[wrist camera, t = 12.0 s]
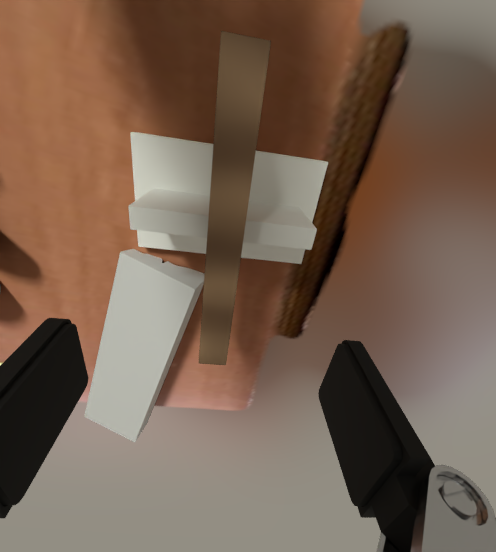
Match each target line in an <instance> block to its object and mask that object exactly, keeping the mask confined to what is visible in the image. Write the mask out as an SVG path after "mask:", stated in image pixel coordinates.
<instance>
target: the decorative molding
mask: <svg viewBox="0 0 496 552" xmlns="http://www.w3.org/2000/svg"><path fill="white" fill-rule="evenodd" d="M204 276H205V274H204V273H202V272H199V271H196V270H193V269H190V268H185V267H180V266H177V265H174V264H172V263H170V262H169V261H167V262H165V263H162V259H161V258H158V257H155V256H152V255H149V254H143V253H141V252H139V251H137V250H135V249H130V250H126V251H122V252H120V256H119V261H118V265H117V270H116V274H115V279H114V283H113V288H112V293H111V297H110V302H109V306H108V311H107V315H106V320H105V325H104V329H103V334H102V338H101V343H100V347H99V352H98V357H97V361H96V366H95V370H94V375H93V379H92V384H91V388H90V393H89V398H88V402H87V407H86V411H85V417H86V418H88V419H90V420H92V421H94V422H96V423H98V424H100V425H102V426H104V427H106V428H107V429H109V430H111V431H113V432H115V433H117V434H119V435H121V436H123V437H125V438H127V439H129V440H131V441H133V442H136V440H137V438H138V437H139V435H140V433H141V432H142V430H143V429H144V427H145V425H146V424H147V422H148V419H149V417H150V415H151V412H152V410H153V407H154V405H155V402H156V400H157V398H158V395H159V393H160V390H161V388H162V385H163V383H164V380H165V378H166V376H167V373H168V371H169V368H170V366H171V363H172V361H173V358H174V356H175V353H176V351H177V349H178V346H179V344H180V341H181V339H182V336H183V334H184V331H185V329H186V327H187V324H188V322H189V319H190V317H191V314H192V312H193V309H194V307H195V305H196V302H197V300H198V297H199V295H200V292H201V290H202V287H203V285H204Z"/></svg>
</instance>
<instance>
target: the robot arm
mask: <svg viewBox="0 0 496 552" xmlns="http://www.w3.org/2000/svg"><path fill="white" fill-rule="evenodd" d="M87 383H88V374H87V370H86V366H85V362H84V357H83V353H82V349H81V345H80V340H79V336H78V332H77V327H76V325H75V324H72V323H71V321H70V320H69V319H58V318H48V319H47V320H45V321H44V322H43V323H42V324H41V325H40V326H39V327H38V328H37V329H36V330H35V331H34V332H33V333H32V334H31V335H30V336H29V337H28V338H27V339H26V340H25V341H24V342H23V343H22V344H21V345H20V347H19V348H18V349H17V350H16V351H15V352H14V353H13V354H12V355H11V356H10V357H9V358H8V359H7V360H6V361H5V362H4V363H3V364H2V365H1V366H0V518H5V517H6V515H7V514H8V512H9V510H10V509H11V507H12V505H16V504H17V503H19V502H20V500H21V499H22V498H23V496H24V495H25V493H26V491H27V489H28V488H29V486H30V484H31V482H32V481H33V479H34V477H35V476H36V474H37V472H38V470H39V468H40V467H41V465H42V463H43V462H44V460H45V458H46V456H47V454H48V453H49V451H50V449H51V448H52V446H53V444H54V442H55V440H56V439H57V437H58V435H59V433H60V432H61V430H62V428H63V426H64V425H65V423H66V421H67V420H68V418H69V416H70V414H71V413H72V411H73V409H74V407H75V405H76V404H77V402H78V401H79V399H80V397H81V395H82V394H83V392H84V390H85V388H86V386H87ZM319 400H320V403H321V406H322V409H323V413H324V415H325V419H326V422H327V425H328V428H329V432H330V435H331V438H332V441H333V444H334V447H335V451H336V454H337V457H338V460H339V463H340V467H341V470H342V473H343V476H344V479H345V482H346V486H347V489H348V492H349V495H350V498H351V501H352V503H353V504H354V505H355V506H358V509H359V513H360V516H361V517H376V519H377V522H378V525H379V527H380V530H381V534H380V539H379V543H378V548H377V552H496V518H495V515H494V511H493V508H492V506H491V505H490V503H489V501H488V499H487V497H486V496H485V495H484V493H483V492H482V491H481V489H480V488H479V487H478V486H477V485H476V484H475V483H474V482H473V481H472V480H471V479H469V478H468V477H467V476H465V475H464V474H463V473H462V472H460V471H458V470H456V469H454V468H452V467H449V466H445V465H437V466H435V465H434V463H433V462H432V460H431V458H430V456H429V455H428V453H427V451H426V450H425V448H424V446H423V445H422V443H421V441H420V440H419V438H418V436H417V435H416V433H415V431H414V430H413V428H412V426H411V425H410V423H409V421H408V419H407V418H406V416H405V414H404V413H403V411H402V409H401V408H400V406H399V404H398V403H397V401H396V399H395V398H394V396H393V394H392V393H391V391H390V389H389V388H388V386H387V384H386V383H385V381H384V379H383V378H382V376H381V374H380V372H379V371H378V369H377V367H376V366H375V364H374V362H373V361H372V359H371V358H370V356H369V354H368V352H367V351H366V349H365V347H364V346H363V344H362V343H361V342H360V341H349V340H344V341H343V342H342V344H338V346H337V348H336V350H335V353H334V355H333V357H332V360H331V362H330V365H329V368H328V370H327V372H326V375H325V377H324V379H323V382H322V384H321V386H320V389H319Z"/></svg>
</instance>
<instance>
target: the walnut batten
mask: <svg viewBox="0 0 496 552" xmlns="http://www.w3.org/2000/svg"><path fill="white" fill-rule="evenodd" d="M270 45H271V41H270V40H265V39H260V38H255V37H250V36H245V35H240V34H235V33H230V32H225V31H221V40H220V55H219V69H218V84H217V99H216V114H215V128H214V143H213V158H212V173H211V187H210V202H209V217H208V232H207V246H206V261H205V276H204V291H203V306H202V320H201V335H200V350H199V363H200V364H216V365H226V361H227V353H228V346H229V339H230V332H231V325H232V318H233V310H234V303H235V296H236V289H237V282H238V275H239V267H240V260H241V253H242V246H243V239H244V232H245V224H246V217H247V210H248V203H249V196H250V189H251V181H252V174H253V167H254V160H255V153H256V146H257V138H258V131H259V124H260V117H261V110H262V103H263V95H264V88H265V81H266V74H267V67H268V60H269V52H270Z"/></svg>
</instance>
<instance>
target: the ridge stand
mask: <svg viewBox="0 0 496 552" xmlns="http://www.w3.org/2000/svg"><path fill="white" fill-rule="evenodd" d="M130 133H131V147H132V162H133V176H134V191H135V202H133V203H132V204H130V205H129V218H130V229H132V230H137V234H138V246H139V247H148V248H157V249H166V250H176V251H185V252H194V253H204V254H206V246H207V232H208V217H209V202H210V187H211V173H212V158H213V144H211V143H204V142H197V141H191V140H184V139H178V138H171V137H165V136H158V135H152V134H145V133H139V132H130ZM327 165H328V162H326V161H322V160H315V159H309V158H302V157H296V156H289V155H283V154H276V153H269V152H263V151H256V153H255V160H254V167H253V174H252V181H251V189H250V196H249V203H248V210H247V217H246V224H245V232H244V239H243V246H242V253H241V258H250V259H259V260H268V261H278V262H287V263H296V264H301V263H302V259H303V255H304V252H305V249H308V250H311V249H312V246H313V242H314V238H315V235H316V231H317V228H316V227H315V226H314V225H313V224H312V222H313V218H314V214H315V210H316V207H317V203H318V199H319V195H320V192H321V188H322V184H323V180H324V177H325V173H326V169H327Z"/></svg>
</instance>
